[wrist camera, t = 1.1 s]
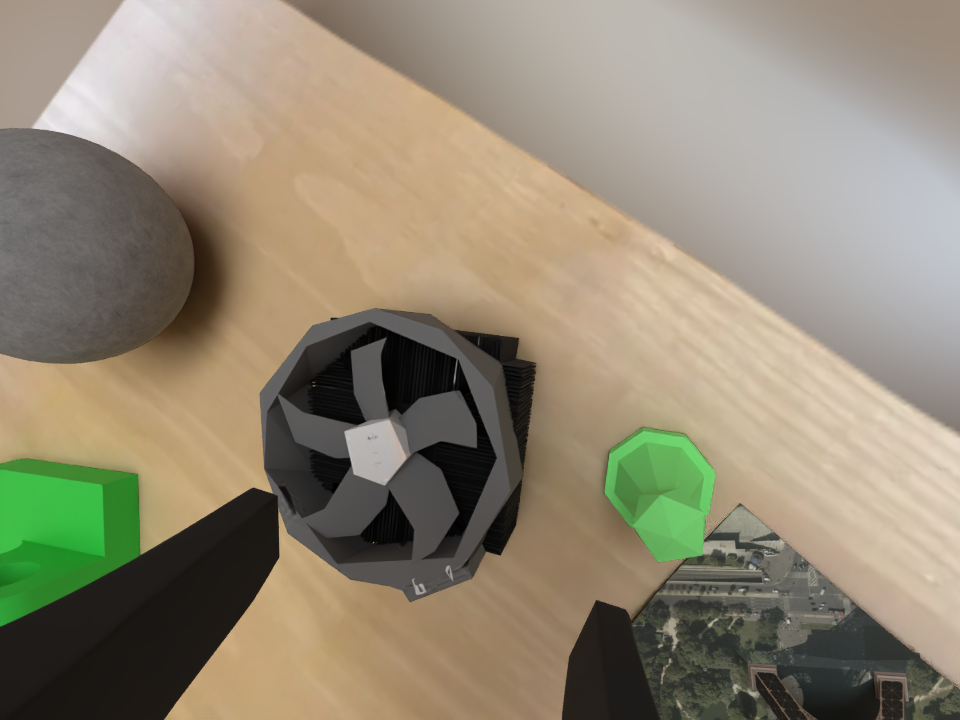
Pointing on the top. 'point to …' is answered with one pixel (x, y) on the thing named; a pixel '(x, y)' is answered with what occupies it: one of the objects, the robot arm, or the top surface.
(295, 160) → the top surface
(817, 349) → the top surface
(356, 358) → the cpu cooler
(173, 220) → the decorative ball
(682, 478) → the game piece
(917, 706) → the eiffel tower figurine
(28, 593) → the mechanical part
